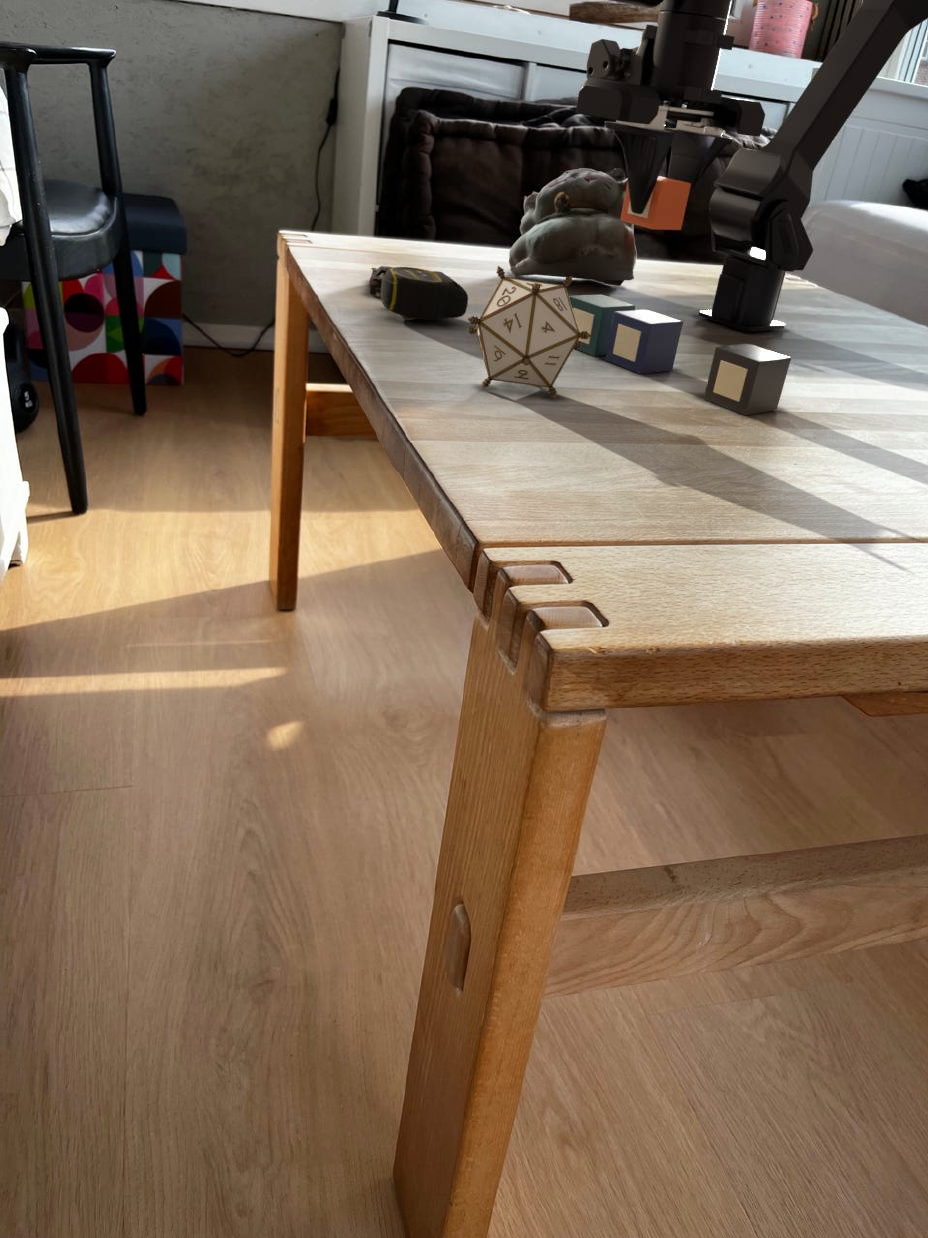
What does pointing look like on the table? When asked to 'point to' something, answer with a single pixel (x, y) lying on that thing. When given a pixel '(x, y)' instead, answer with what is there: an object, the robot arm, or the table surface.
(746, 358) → the block
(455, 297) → the tape measure
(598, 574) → the table surface
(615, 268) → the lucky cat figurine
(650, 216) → the loose block
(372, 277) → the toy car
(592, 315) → the block
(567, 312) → the game die
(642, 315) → the block
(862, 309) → the table surface
